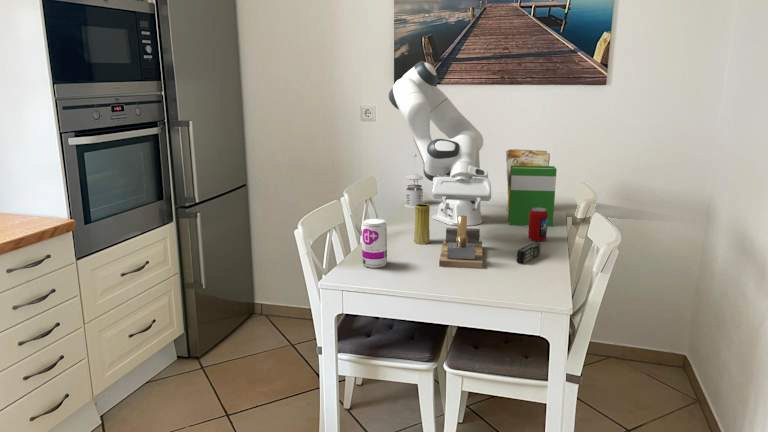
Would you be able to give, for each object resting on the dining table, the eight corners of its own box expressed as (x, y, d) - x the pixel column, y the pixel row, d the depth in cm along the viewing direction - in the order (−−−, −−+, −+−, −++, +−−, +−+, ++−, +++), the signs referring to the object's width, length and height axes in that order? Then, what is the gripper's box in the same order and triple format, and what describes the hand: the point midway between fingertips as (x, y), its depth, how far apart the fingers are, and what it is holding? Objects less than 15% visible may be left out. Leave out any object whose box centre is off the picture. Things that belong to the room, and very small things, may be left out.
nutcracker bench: (443, 245, 213) (443, 226, 212) (481, 246, 211) (482, 228, 209) (439, 266, 190) (439, 246, 189) (482, 268, 188) (482, 248, 186)
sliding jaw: (448, 252, 197) (449, 213, 194) (474, 253, 196) (476, 214, 192) (447, 258, 191) (448, 218, 188) (474, 259, 190) (476, 219, 186)
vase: (432, 240, 219) (432, 204, 215) (426, 245, 213) (427, 207, 210) (417, 239, 221) (417, 202, 218) (411, 243, 216) (411, 206, 212)
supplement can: (378, 270, 187) (378, 225, 183) (357, 265, 191) (356, 222, 188) (391, 263, 194) (391, 220, 190) (370, 259, 198) (370, 216, 194)
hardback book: (509, 225, 241) (511, 168, 235) (508, 220, 248) (510, 165, 242) (552, 226, 238) (556, 169, 232) (550, 222, 245) (554, 166, 239)
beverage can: (546, 242, 216) (548, 211, 213) (528, 241, 217) (530, 210, 214) (545, 237, 222) (547, 207, 219) (527, 236, 224) (529, 206, 221)
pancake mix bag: (504, 207, 271) (507, 148, 264) (546, 210, 265) (550, 150, 258) (502, 211, 265) (505, 150, 258) (545, 214, 259) (549, 152, 252)
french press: (402, 207, 272) (402, 155, 265) (405, 202, 283) (406, 151, 277) (423, 208, 270) (424, 155, 264) (425, 203, 281) (426, 152, 275)
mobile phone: (523, 251, 190) (544, 240, 201) (515, 249, 192) (536, 239, 203) (522, 265, 192) (543, 254, 203) (514, 263, 194) (535, 252, 204)
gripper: (432, 169, 202) (429, 203, 195) (492, 171, 198) (491, 205, 191) (433, 179, 207) (430, 212, 200) (491, 181, 204) (490, 215, 197)
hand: (460, 209), depth 196 cm, fingers open, 8 cm apart
